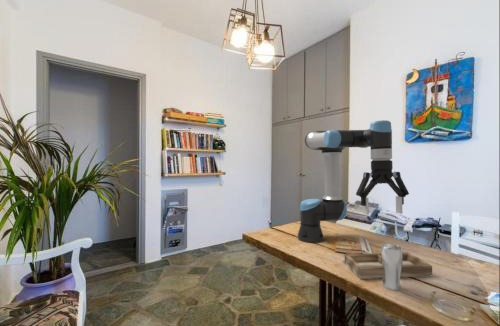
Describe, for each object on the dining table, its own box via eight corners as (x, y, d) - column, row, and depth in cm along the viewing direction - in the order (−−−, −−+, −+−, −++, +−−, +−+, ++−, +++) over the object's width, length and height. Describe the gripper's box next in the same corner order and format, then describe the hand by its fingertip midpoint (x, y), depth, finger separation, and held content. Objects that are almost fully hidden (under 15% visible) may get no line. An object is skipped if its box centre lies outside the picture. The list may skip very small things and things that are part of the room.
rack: (344, 263, 110) (344, 254, 109) (407, 261, 111) (407, 252, 111) (360, 279, 96) (360, 268, 96) (432, 275, 97) (432, 265, 97)
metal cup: (390, 280, 95) (389, 242, 94) (407, 288, 88) (407, 248, 88) (377, 283, 92) (376, 244, 92) (393, 293, 86) (393, 251, 85)
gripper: (355, 160, 91) (356, 216, 91) (418, 159, 92) (420, 214, 92) (346, 160, 98) (347, 212, 98) (404, 159, 100) (406, 210, 99)
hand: (382, 213), depth 95 cm, fingers open, 13 cm apart
